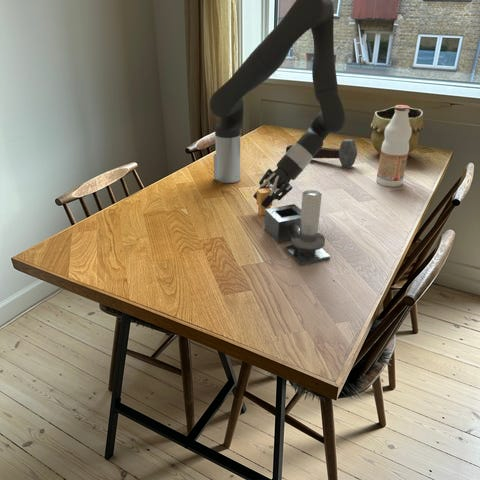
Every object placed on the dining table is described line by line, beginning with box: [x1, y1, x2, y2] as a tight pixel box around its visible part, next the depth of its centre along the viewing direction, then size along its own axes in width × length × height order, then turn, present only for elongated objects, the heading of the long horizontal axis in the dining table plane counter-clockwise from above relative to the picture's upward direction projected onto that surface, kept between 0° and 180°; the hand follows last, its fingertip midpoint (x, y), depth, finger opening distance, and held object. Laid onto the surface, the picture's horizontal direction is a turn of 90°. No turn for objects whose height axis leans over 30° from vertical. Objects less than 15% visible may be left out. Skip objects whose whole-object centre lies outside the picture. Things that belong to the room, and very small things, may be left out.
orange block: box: [256, 188, 273, 216], centre depth 140 cm, size 3×4×8 cm
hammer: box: [285, 138, 358, 170], centre depth 183 cm, size 5×11×30 cm
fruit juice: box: [376, 104, 412, 188], centre depth 158 cm, size 9×9×28 cm
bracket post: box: [264, 189, 331, 267], centre depth 120 cm, size 21×10×18 cm, turn 22°
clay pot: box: [370, 106, 424, 155], centre depth 185 cm, size 21×21×20 cm
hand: (259, 202), depth 139 cm, fingers open, 5 cm apart
